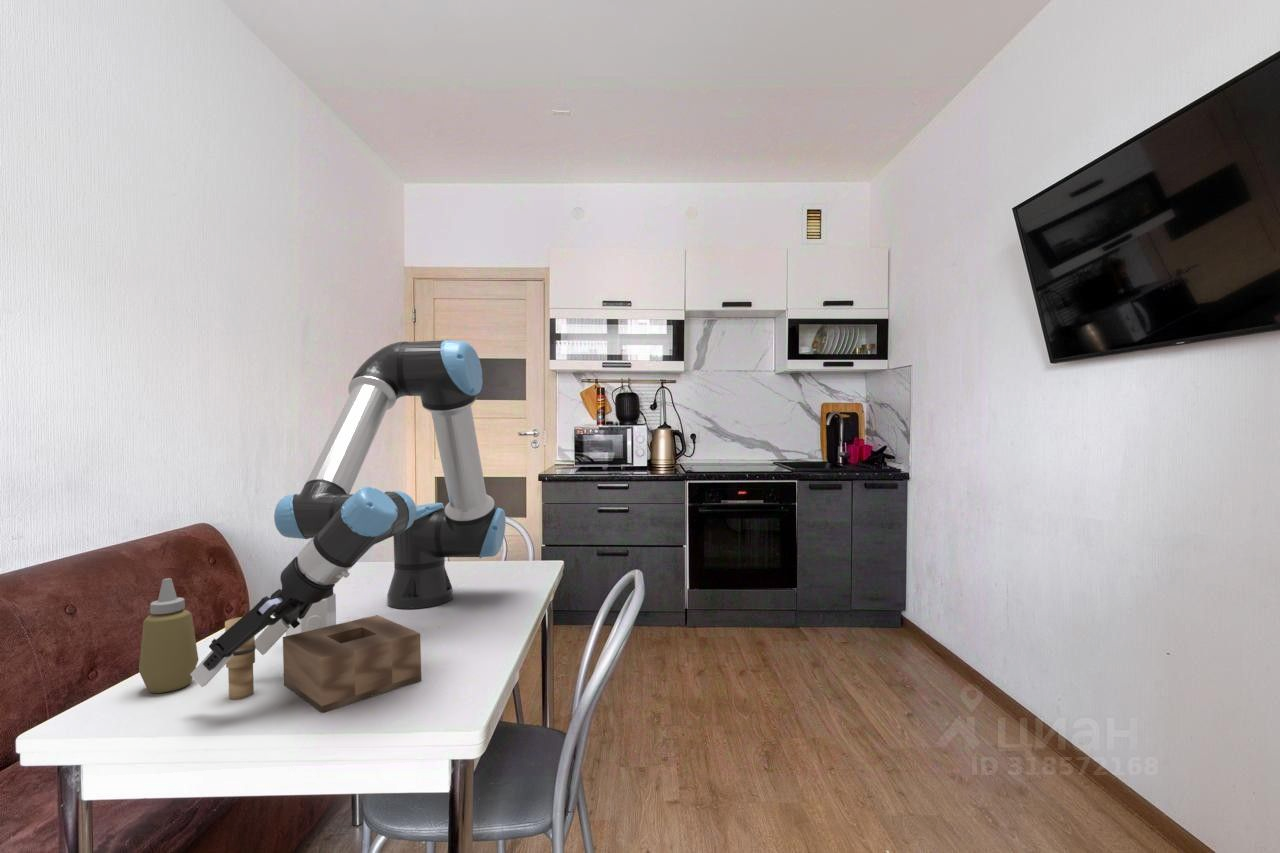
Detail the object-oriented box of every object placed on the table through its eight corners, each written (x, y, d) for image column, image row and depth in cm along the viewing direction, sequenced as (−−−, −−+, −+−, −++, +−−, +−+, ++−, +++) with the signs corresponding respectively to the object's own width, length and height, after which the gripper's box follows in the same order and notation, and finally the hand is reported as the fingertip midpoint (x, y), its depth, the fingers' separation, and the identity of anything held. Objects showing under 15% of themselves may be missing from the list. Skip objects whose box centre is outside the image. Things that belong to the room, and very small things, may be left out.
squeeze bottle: (152, 701, 104) (149, 587, 104) (130, 690, 108) (127, 581, 108) (208, 683, 111) (205, 576, 111) (185, 674, 115) (182, 571, 115)
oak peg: (251, 687, 109) (250, 614, 109) (260, 694, 106) (258, 619, 106) (222, 695, 106) (220, 620, 106) (230, 702, 103) (228, 625, 103)
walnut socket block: (378, 658, 121) (377, 615, 121) (421, 680, 110) (420, 632, 110) (284, 685, 109) (282, 636, 109) (321, 712, 98) (320, 659, 98)
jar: (288, 655, 124) (286, 591, 124) (284, 643, 131) (282, 583, 131) (340, 645, 129) (338, 584, 129) (333, 634, 136) (331, 576, 136)
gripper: (283, 609, 92) (185, 714, 93) (372, 568, 116) (293, 652, 118) (246, 570, 92) (149, 676, 93) (343, 539, 117) (265, 623, 118)
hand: (229, 663), depth 106 cm, fingers open, 13 cm apart
